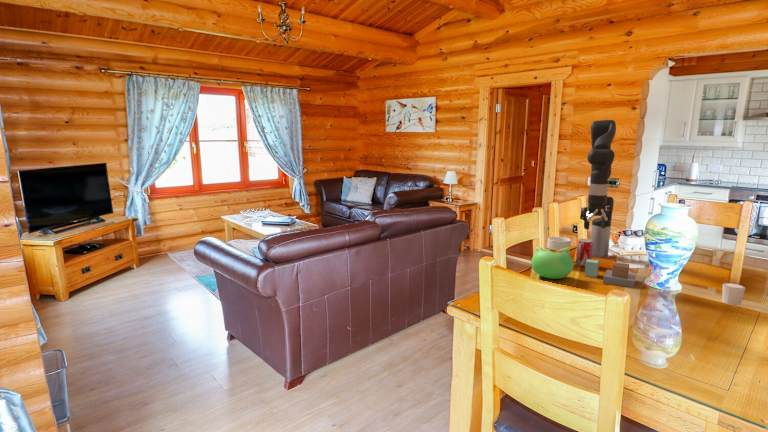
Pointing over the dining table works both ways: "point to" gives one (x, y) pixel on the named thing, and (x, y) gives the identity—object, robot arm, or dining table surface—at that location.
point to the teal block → (591, 268)
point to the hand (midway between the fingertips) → (594, 228)
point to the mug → (559, 243)
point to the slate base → (619, 279)
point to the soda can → (583, 251)
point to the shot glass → (732, 293)
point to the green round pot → (552, 262)
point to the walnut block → (620, 269)
